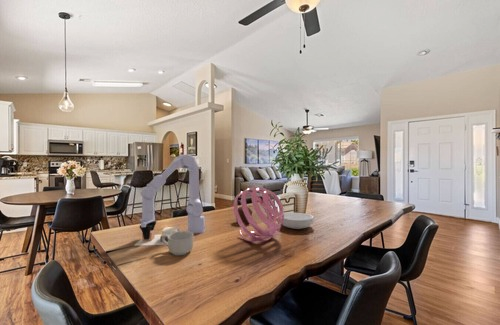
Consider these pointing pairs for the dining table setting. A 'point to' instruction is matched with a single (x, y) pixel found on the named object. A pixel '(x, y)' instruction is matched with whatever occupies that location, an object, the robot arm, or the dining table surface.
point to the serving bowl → (297, 220)
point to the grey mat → (154, 242)
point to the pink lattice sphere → (260, 214)
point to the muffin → (244, 215)
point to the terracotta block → (149, 237)
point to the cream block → (169, 230)
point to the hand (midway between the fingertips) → (148, 237)
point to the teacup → (179, 242)
